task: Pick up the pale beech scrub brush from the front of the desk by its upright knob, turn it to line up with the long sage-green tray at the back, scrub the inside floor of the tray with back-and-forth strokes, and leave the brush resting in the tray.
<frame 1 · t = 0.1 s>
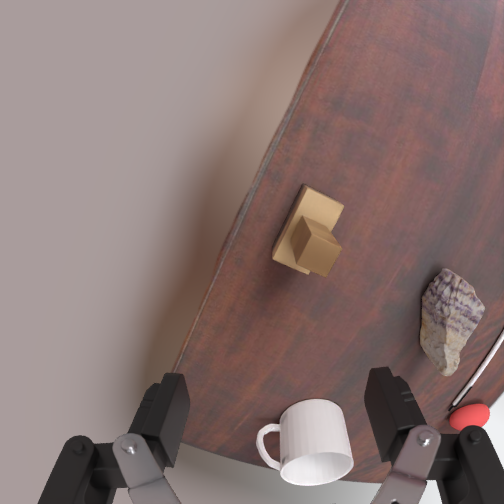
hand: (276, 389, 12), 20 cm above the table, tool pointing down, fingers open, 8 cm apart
scrub brush: (303, 223, 30), on the table
stress ball: (467, 408, 39), on the table
mineral specimen: (440, 305, 32), on the table
pen: (480, 364, 35), on the table
mug: (301, 416, 39), on the table
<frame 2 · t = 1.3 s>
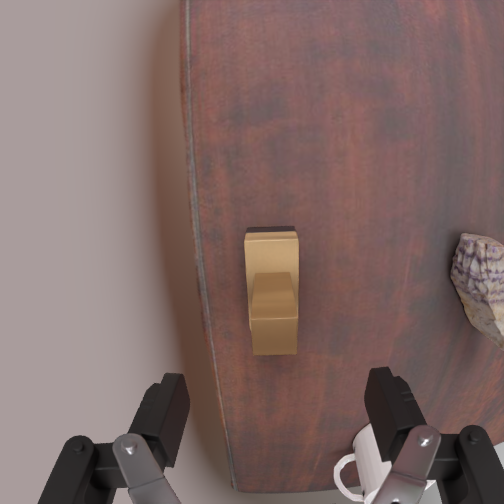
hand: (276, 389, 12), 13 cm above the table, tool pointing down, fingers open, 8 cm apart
scrub brush: (272, 269, 25), on the table
mineral specimen: (475, 271, 24), on the table
mug: (374, 436, 32), on the table
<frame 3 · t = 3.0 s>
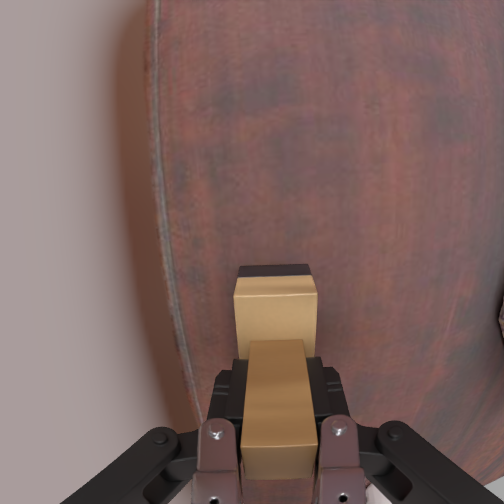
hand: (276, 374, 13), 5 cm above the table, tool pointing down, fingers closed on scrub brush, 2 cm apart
scrub brush: (275, 321, 17), on the table, touching gripper
mug: (388, 484, 24), on the table
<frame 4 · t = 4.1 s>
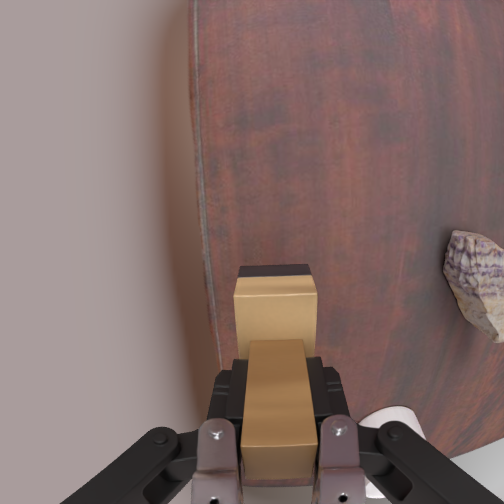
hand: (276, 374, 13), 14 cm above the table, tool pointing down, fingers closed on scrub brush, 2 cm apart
scrub brush: (275, 321, 17), point 10 cm above the table, touching gripper
mineral specimen: (468, 267, 26), on the table
mug: (372, 428, 33), on the table
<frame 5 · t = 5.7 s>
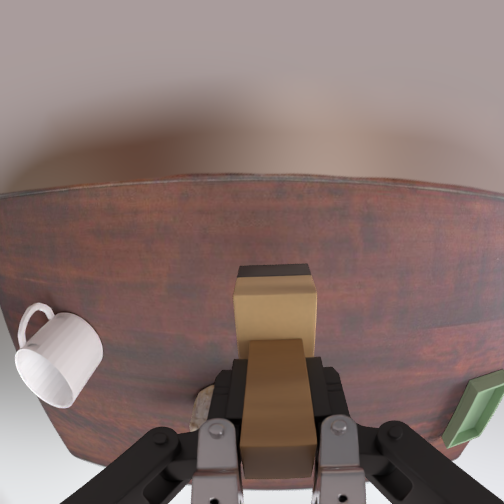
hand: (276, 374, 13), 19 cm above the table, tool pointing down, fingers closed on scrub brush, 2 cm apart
scrub brush: (275, 321, 17), point 14 cm above the table, touching gripper
mineral specimen: (240, 389, 37), on the table
tray: (472, 405, 39), on the table
mug: (73, 329, 36), on the table
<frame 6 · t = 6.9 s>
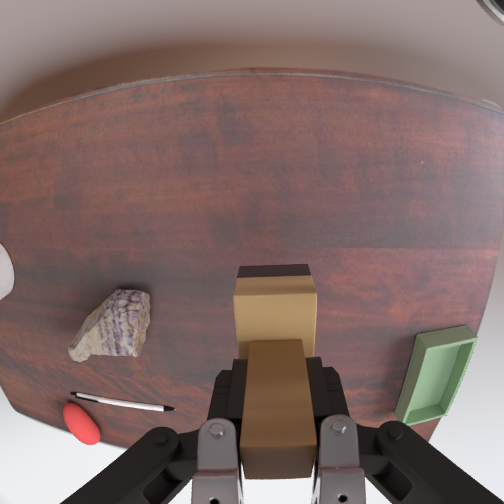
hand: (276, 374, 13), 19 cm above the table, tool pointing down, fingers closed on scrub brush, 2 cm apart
scrub brush: (275, 321, 17), point 14 cm above the table, touching gripper
stress ball: (87, 417, 43), on the table
mineral specimen: (124, 315, 35), on the table
tray: (430, 372, 36), on the table
pen: (119, 399, 40), on the table
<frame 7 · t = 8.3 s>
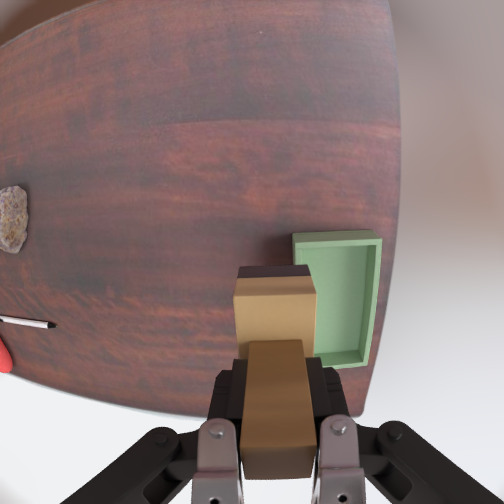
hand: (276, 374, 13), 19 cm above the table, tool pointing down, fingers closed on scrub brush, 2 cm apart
scrub brush: (275, 322, 17), point 15 cm above the table, touching gripper
stress ball: (3, 344, 40), on the table
mineral specimen: (14, 218, 32), on the table
tray: (331, 297, 33), on the table
pen: (19, 318, 37), on the table
when the fingers open (5 cm above the table, at t = 14.2 s): scrub brush stays where it is, resting on tray.
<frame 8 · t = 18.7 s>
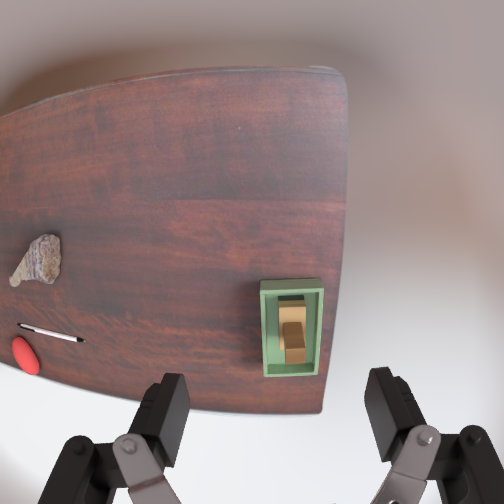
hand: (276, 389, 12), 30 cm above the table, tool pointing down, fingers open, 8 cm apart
scrub brush: (290, 316, 44), point 1 cm above the table, touching tray
stress ball: (31, 351, 52), on the table
mineral specimen: (48, 256, 44), on the table
tray: (290, 324, 45), on the table
pen: (49, 330, 50), on the table
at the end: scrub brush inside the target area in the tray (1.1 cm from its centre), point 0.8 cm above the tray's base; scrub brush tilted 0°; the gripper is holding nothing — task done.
